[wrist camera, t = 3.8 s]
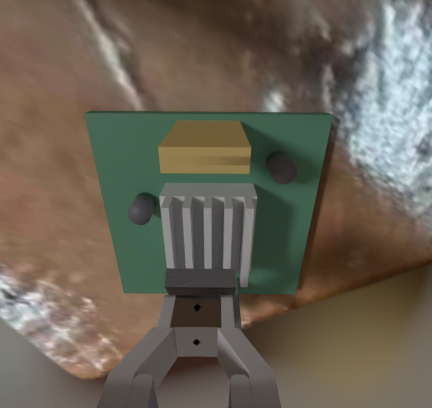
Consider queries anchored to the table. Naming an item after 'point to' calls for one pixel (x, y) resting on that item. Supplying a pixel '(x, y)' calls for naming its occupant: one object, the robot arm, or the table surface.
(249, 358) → the robot arm
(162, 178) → the board
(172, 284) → the strap
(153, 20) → the table surface
